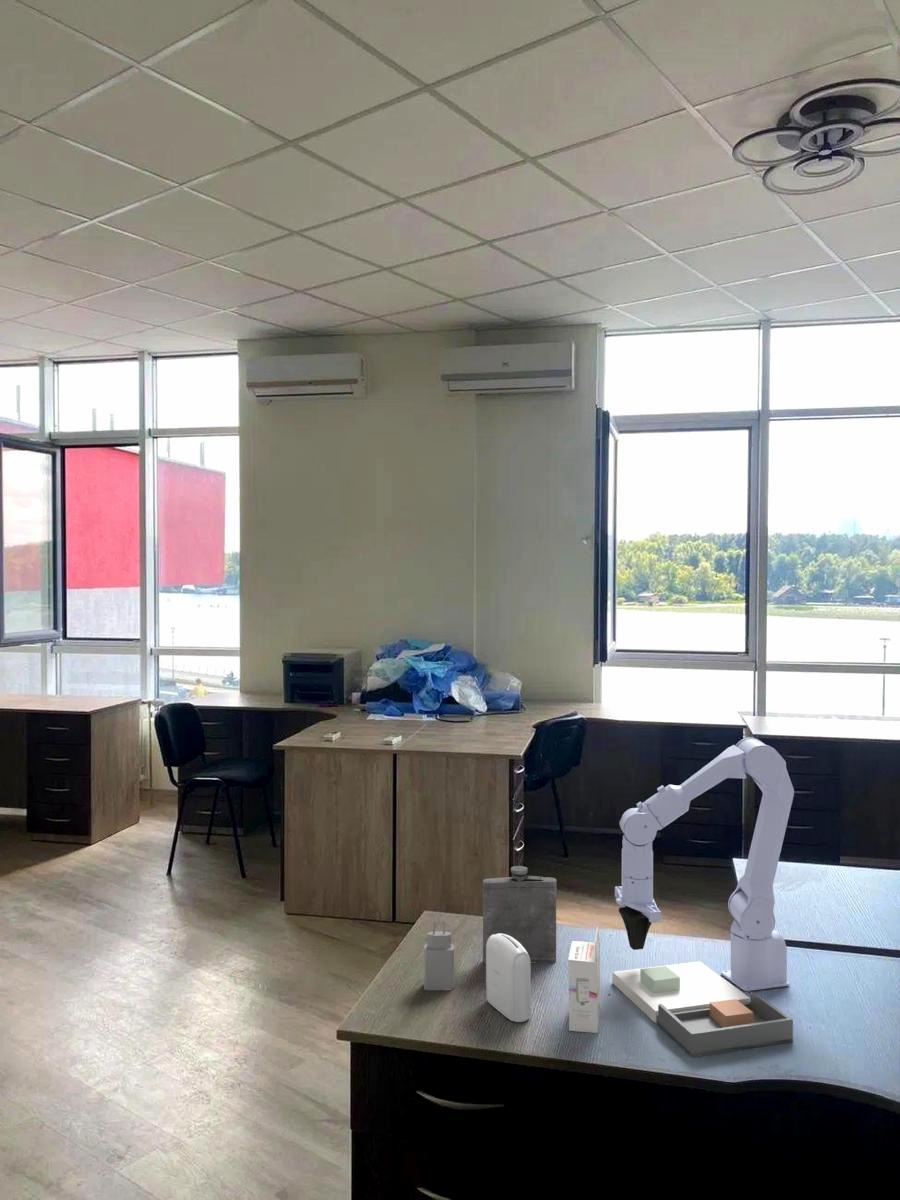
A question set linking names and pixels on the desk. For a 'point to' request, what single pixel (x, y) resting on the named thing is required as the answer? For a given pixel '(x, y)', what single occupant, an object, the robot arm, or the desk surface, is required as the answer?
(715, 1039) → the box
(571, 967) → the ink cartridge box
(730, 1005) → the terracotta tile
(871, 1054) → the desk surface
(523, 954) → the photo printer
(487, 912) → the flask
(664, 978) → the sage-green tile
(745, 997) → the white board
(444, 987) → the power adapter
